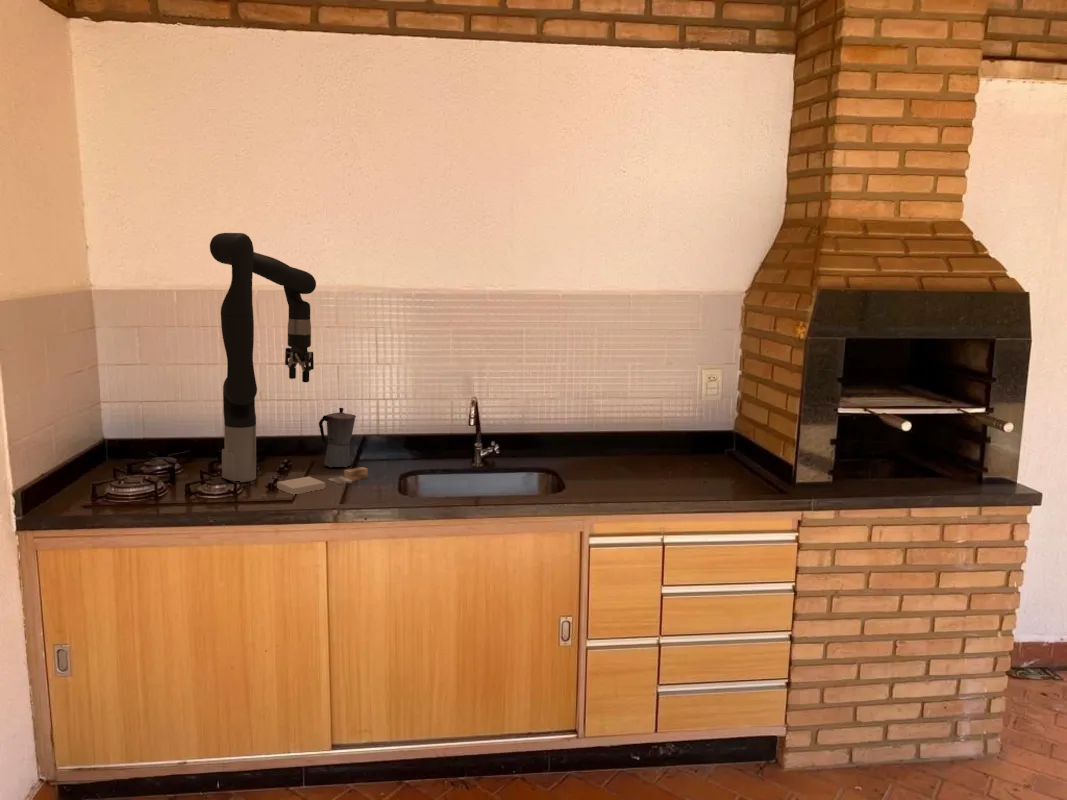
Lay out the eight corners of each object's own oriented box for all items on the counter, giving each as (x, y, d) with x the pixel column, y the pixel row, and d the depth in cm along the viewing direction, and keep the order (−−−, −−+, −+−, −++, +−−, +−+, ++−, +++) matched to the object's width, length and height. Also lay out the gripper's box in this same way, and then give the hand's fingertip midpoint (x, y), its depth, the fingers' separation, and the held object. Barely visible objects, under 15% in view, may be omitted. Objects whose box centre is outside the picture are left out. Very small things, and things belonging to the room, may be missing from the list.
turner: (359, 475, 264) (359, 466, 264) (370, 479, 260) (370, 469, 260) (327, 481, 256) (328, 471, 255) (338, 485, 252) (338, 475, 251)
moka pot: (363, 464, 278) (364, 407, 275) (330, 472, 265) (331, 413, 262) (343, 459, 283) (344, 403, 280) (309, 467, 270) (310, 409, 267)
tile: (325, 490, 247) (292, 496, 239) (309, 484, 253) (277, 489, 245) (325, 482, 246) (293, 488, 238) (309, 476, 252) (277, 481, 244)
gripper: (278, 330, 273) (278, 378, 275) (300, 334, 263) (300, 384, 266) (298, 330, 278) (297, 377, 281) (320, 334, 269) (320, 382, 271)
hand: (299, 380), depth 273 cm, fingers open, 8 cm apart
